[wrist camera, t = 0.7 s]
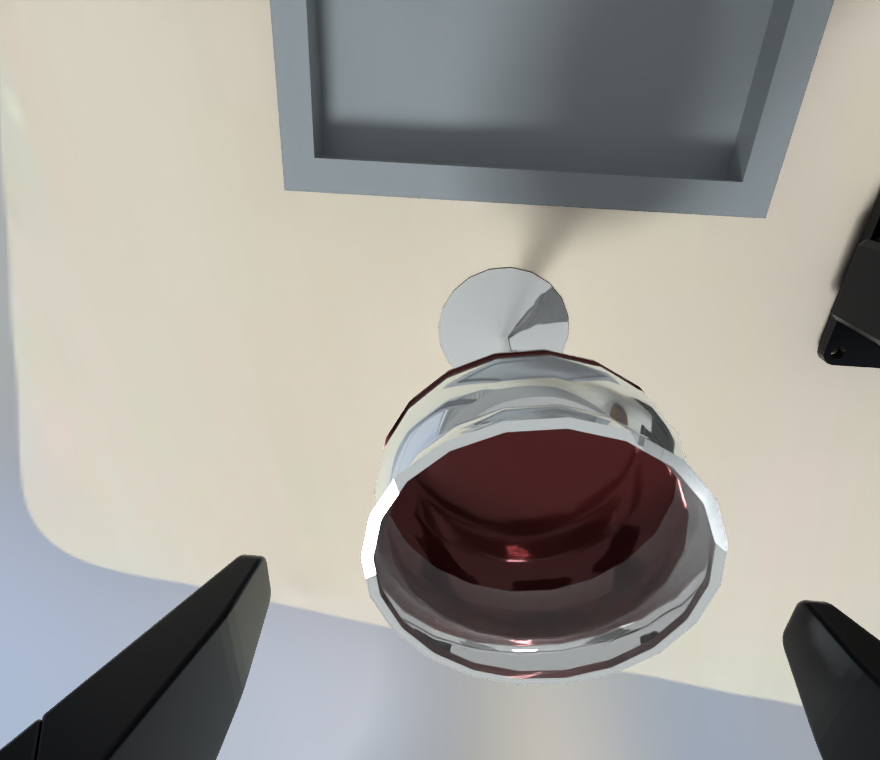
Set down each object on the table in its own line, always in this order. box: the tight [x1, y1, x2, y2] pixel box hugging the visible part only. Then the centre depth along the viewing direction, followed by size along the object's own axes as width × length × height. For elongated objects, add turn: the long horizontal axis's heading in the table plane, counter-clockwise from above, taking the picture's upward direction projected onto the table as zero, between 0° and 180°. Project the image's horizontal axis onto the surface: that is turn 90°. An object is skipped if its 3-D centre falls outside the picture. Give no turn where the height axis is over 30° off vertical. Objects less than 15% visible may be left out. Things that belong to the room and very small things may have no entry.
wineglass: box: [361, 268, 728, 685], centre depth 15 cm, size 7×7×12 cm
